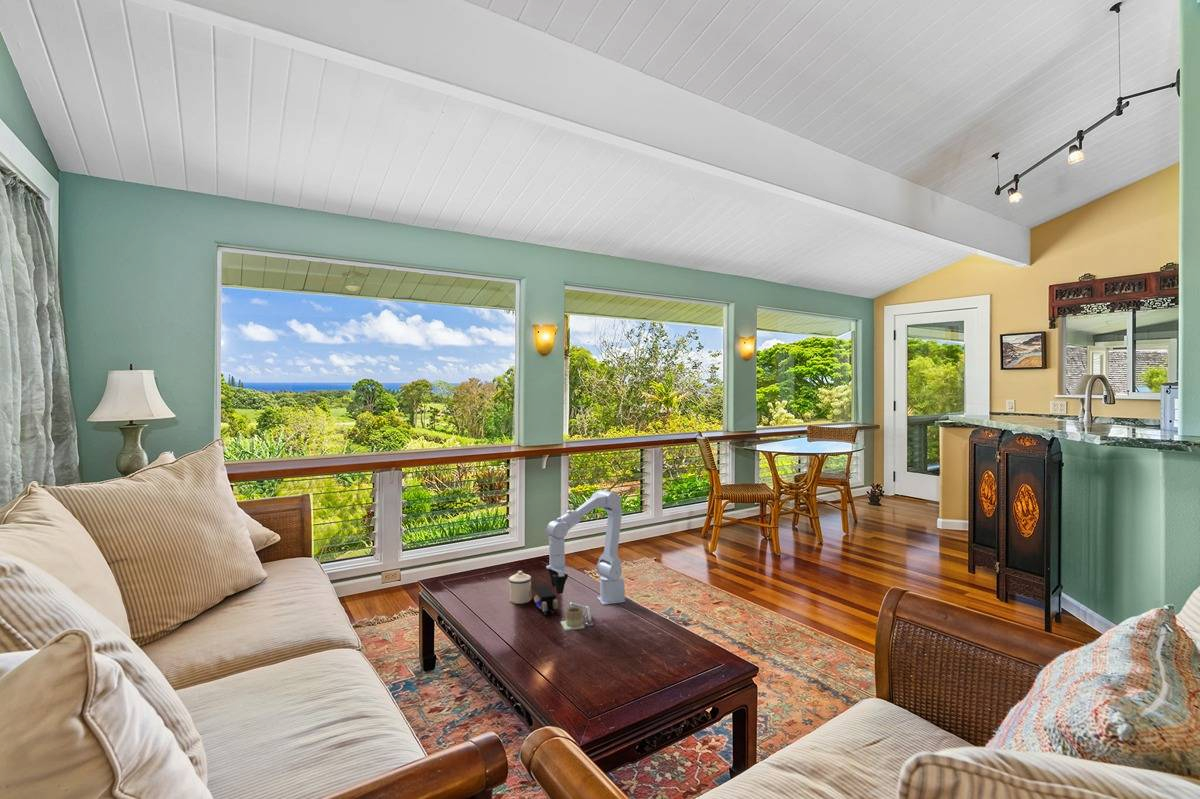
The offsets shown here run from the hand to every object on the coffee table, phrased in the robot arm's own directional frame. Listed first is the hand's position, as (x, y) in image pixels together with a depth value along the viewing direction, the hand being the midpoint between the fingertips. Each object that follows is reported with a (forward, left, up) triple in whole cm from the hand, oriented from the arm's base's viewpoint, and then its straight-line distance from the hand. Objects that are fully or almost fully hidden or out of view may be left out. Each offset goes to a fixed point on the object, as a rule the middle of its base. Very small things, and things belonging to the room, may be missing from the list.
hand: (557, 589), depth 206 cm
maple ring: (-4, +10, -9) cm, 14 cm away
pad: (-3, +10, -10) cm, 14 cm away
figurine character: (+3, -8, -10) cm, 13 cm away
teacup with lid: (+11, -22, -10) cm, 27 cm away
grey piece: (-8, +4, -10) cm, 13 cm away
